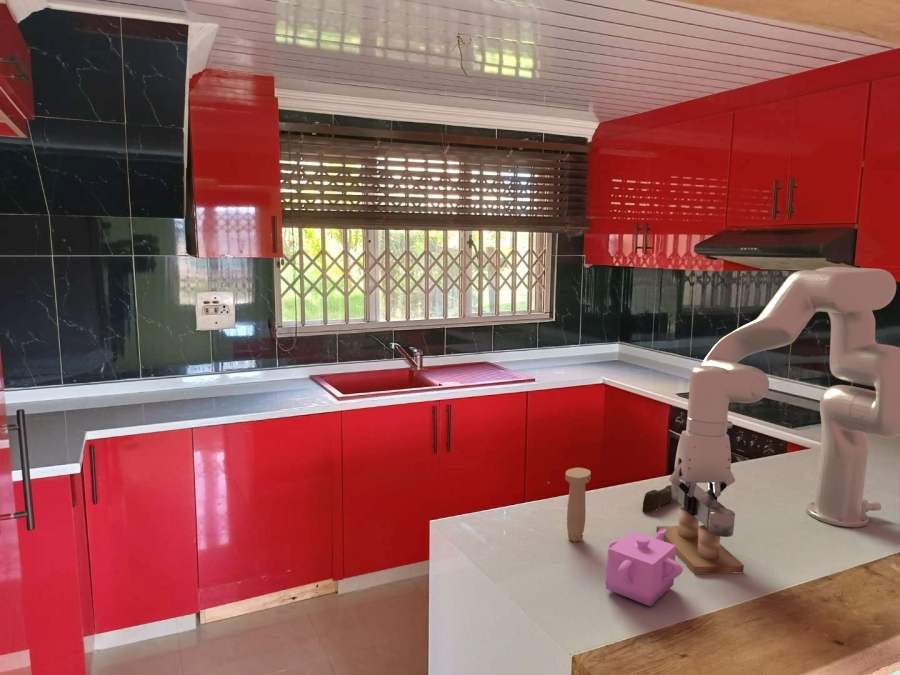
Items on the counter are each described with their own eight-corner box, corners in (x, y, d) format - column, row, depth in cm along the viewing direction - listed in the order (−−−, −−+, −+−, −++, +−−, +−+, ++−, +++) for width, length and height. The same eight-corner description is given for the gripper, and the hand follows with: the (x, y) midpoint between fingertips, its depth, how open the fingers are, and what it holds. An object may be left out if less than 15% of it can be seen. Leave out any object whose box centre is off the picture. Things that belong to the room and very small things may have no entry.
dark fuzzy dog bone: (677, 492, 165) (678, 475, 165) (691, 497, 162) (692, 479, 161) (632, 510, 154) (633, 491, 153) (647, 515, 151) (648, 497, 150)
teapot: (631, 560, 128) (634, 512, 127) (700, 585, 119) (704, 534, 118) (586, 595, 115) (588, 543, 114) (660, 627, 106) (663, 570, 105)
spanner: (687, 493, 142) (688, 476, 141) (737, 536, 121) (739, 516, 120) (667, 493, 141) (668, 476, 141) (714, 537, 120) (716, 517, 120)
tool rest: (699, 531, 142) (701, 501, 141) (743, 572, 124) (746, 538, 123) (656, 532, 141) (658, 502, 140) (694, 574, 123) (696, 540, 122)
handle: (558, 541, 136) (561, 474, 134) (571, 530, 141) (574, 466, 139) (579, 547, 133) (582, 479, 131) (591, 536, 138) (594, 470, 136)
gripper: (735, 421, 133) (728, 505, 136) (659, 422, 132) (653, 506, 134) (755, 432, 126) (747, 519, 128) (675, 432, 124) (668, 521, 127)
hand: (699, 512), depth 131 cm, fingers closed on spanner, 3 cm apart
